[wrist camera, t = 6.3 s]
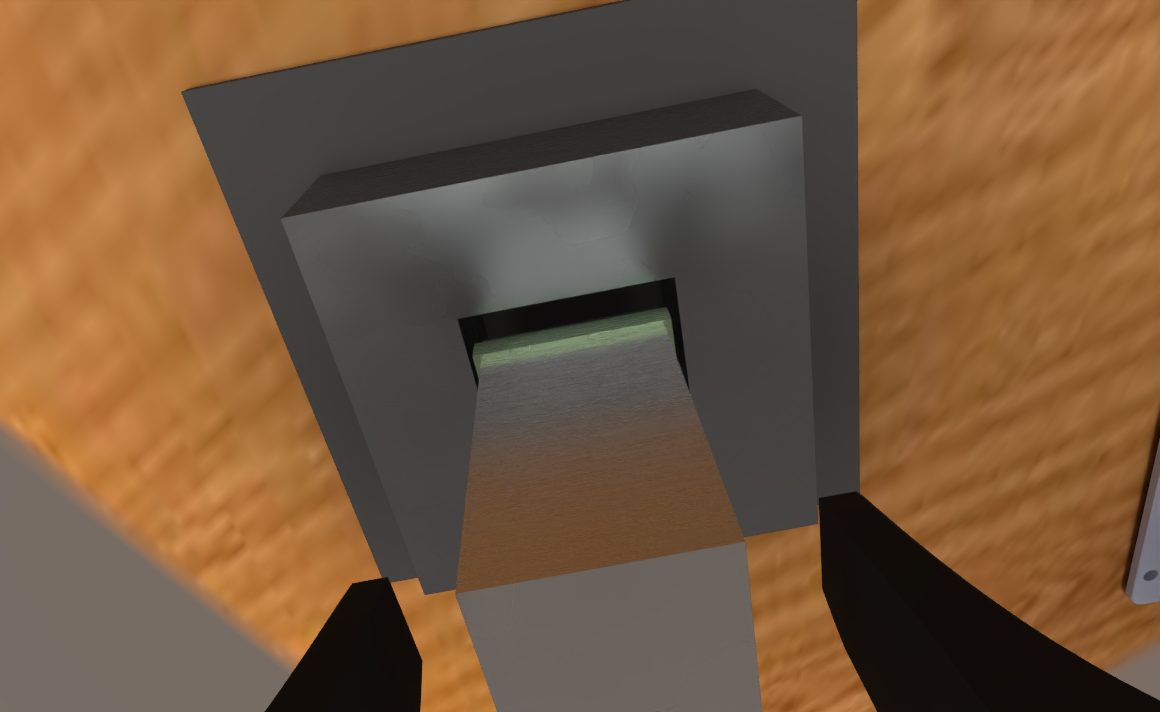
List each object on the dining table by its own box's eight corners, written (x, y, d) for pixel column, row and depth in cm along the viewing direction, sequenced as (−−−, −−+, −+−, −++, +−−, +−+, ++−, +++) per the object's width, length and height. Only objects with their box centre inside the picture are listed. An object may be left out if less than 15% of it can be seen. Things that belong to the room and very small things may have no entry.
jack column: (685, 454, 19) (774, 733, 12) (516, 485, 19) (511, 778, 12) (663, 299, 17) (755, 531, 10) (475, 335, 17) (442, 588, 10)
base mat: (853, 487, 25) (859, 497, 25) (387, 572, 26) (384, 583, 25) (848, -45, 18) (856, -45, 17) (189, 88, 18) (181, 91, 18)
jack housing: (781, 460, 24) (818, 534, 21) (441, 522, 24) (428, 605, 21) (756, 88, 19) (801, 115, 16) (320, 175, 19) (280, 218, 16)
